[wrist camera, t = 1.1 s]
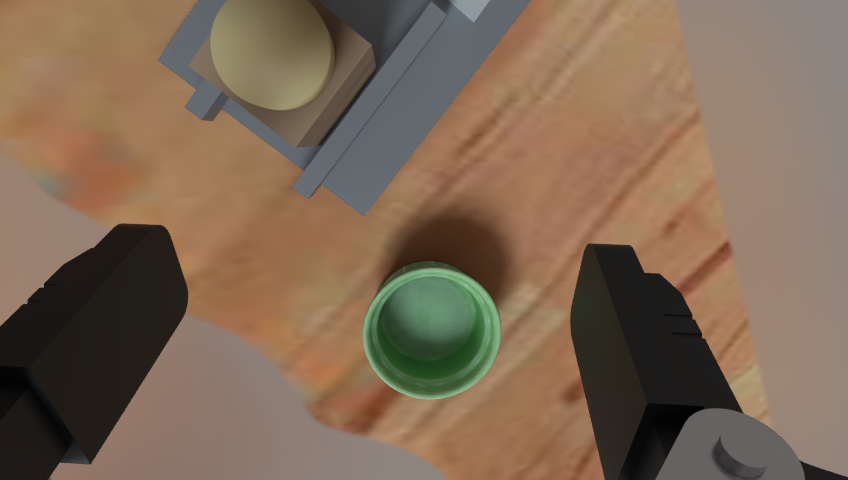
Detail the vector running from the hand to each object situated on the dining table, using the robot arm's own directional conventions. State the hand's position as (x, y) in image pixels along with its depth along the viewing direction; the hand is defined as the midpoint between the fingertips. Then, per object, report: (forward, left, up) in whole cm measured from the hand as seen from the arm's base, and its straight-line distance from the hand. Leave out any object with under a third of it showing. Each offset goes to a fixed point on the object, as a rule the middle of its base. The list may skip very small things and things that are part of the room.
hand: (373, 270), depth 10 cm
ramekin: (+8, -6, -26) cm, 28 cm away
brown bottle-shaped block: (-8, +2, -25) cm, 26 cm away
